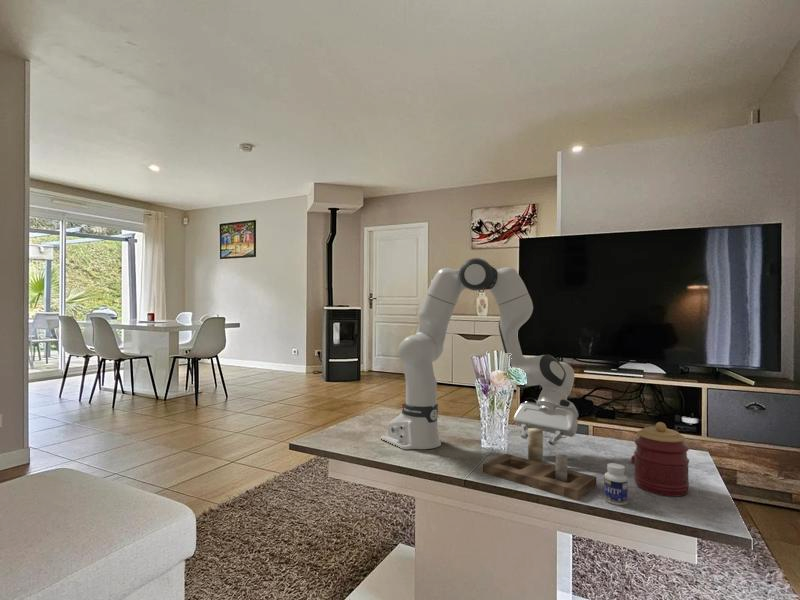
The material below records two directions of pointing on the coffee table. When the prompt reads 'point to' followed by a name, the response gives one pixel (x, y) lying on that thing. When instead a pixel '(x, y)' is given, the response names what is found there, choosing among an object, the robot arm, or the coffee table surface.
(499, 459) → the wooden peg holder
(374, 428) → the coffee table surface
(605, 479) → the pill bottle
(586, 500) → the coffee table surface
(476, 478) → the coffee table surface
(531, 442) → the wooden peg
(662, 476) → the canister
